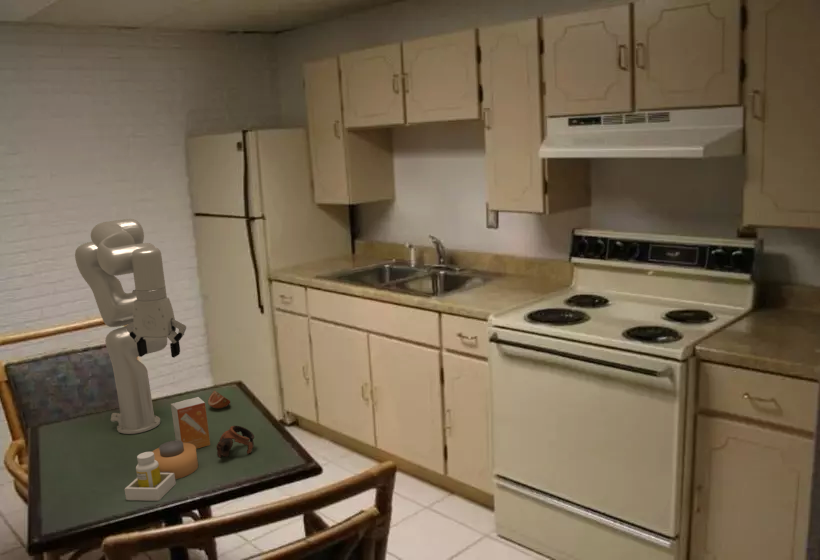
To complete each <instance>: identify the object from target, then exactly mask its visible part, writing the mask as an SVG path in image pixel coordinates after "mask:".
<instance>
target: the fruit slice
mask: <svg viewBox="0 0 820 560" xmlns="http://www.w3.org/2000/svg"><path fill="white" fill-rule="evenodd" d="M207 404H208V406H210V407H211V408H214V409H224V408H225V407H227V406H228V405H230V404H231V400H230V399H229V398H226V397H225V396H224V395H222V394H220V393H219V392H218V391H216V390H213V391H212V393H211V394H210V396H209V397H208V400H207ZM223 407H224V408H223Z"/></svg>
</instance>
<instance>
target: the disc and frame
mask: <svg viewBox="0 0 820 560" xmlns="http://www.w3.org/2000/svg"><path fill="white" fill-rule="evenodd" d="M151 452H153V453H154V456H155V459H154V460H156V461H157V462H158V464H159V469H160V475H161V481H162V482H161V483H160V484H159V485H158V486H157V487H156V488H147V487H139V485H138V479H137V477H136V478H135V479H134V480H133V481H132V482H130V483H129V484H128V485H127V486H126V487H125V488H124V493H125V500H126V501H147V502H148V501H150V502H152V501H153V502H155V501H156V502H158V501H160V500H161V499H162V498H163V497H164V496H165V495H167V493H168V492H170V490H171V489H172V488H173V487H174V486H176V484H177V483H176V480H177V479H182V478H184V477H188V476H189V475H191V474H193V473H195V471H197V470H198V468H199V461H198V454H197V449H196V447H195V445H193V444H190V443H183V442H182V441H178V440H176V439H175V440H170V441H166V442H163V443H162V444H160V445H159V447H158V448H155V449H154V450H152V451H151Z"/></svg>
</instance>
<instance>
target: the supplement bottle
mask: <svg viewBox="0 0 820 560" xmlns="http://www.w3.org/2000/svg"><path fill="white" fill-rule="evenodd" d="M154 459H155V456H154V453H153V452H152V451H145V452H141V453H139V454H138V455H136V461H137V465H136V466H135V472H136V478H137V479H138V485H139V487H147V488H156V487H157V486H158V485H159V484H160V483H161V482H162V481H161V475H160V469H159V464H158V462H157V461H156V460H154Z"/></svg>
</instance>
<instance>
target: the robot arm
mask: <svg viewBox="0 0 820 560" xmlns="http://www.w3.org/2000/svg"><path fill="white" fill-rule="evenodd" d="M90 238H91V241H89V242H85V243H83V244H80V245H79V246H78V247H77V248H76V249H75V252H74V259H75V263H76V267H77V269H78V271H79V273H80V275H81V277H82V278H83V280H84V281H85V283H87V285H88V286H89V288H90V290H91V292H92V293H93V296H94V299H95V300H94V301H95V303H96V305H97V308H98V311H99V314H100V317H101V319H102V321H103V323H104V324H105V325H106V327H109V328H115V329H113V330H111V331H110V332H109V333H108V334H107V335H106V337H105V347H106V351H107V353H108V355H109V359H110V361H111V362H110V363H111V366H112V370H113V375H114V382H115V383H114V384H115V388H116V395H117V401H118V407H119V412H112V413H111V416H110V421H111V422H117V423H118V425H117V426H116V429H117V432H118V433H121V434H125V435H134V434H140V433H145V432H148V431H150V430H153V429H155V428H157V427H158V426H159V425H160V424H161V417H160V416H157V415H155V413H154V407H153V406H154V405H153V400H152V399H153V398H152V393H151V387H150V386H151V385H150V379H149V372H148V369H147V367H146V366H145V364H143V362H141V361H139V359H138V357H139V358H140V357H141V358H142V357H143V356H145V355H148V354H153V353H156V352H160V351H162V350H164V349H165V348H166V347H167V345H168V340H169V341H170V342H171V343H170V344H169V347H170V355H171V356H170V357H171V358H174V359H175V358H176V357H178V356H179V355H180V354H181V348H180V347H181V345H180V341H181V339H182V338H183V337H184V336H185V332H186V329H187V325H185V324H183V323H182V322H179V321H178V320H176V318H175V314H174V309H173V306H172V303H171V300H170V297H167V289H166V280H165V273H164V266H163V256H162V253H161V250H160V249H159V248H157V247H156V246H155V245H154V244H152V243H151V242H150V243H149V242H144V239H145V232H144V230H143V227H142V225H141V223H140V222H139V221H137V220H136V219H133V218H125V219H124V218H123V219H116V220H109V221H103V222H100V223H98V224H96V225H94V226H93V228H92V229H91V232H90ZM129 274H133V279H134V280H133V281H134V289H133V290H132V292H128V293H127V292H125V290H124V289H123V285H122V282H121V280H120V279H118V277H116V276H125V275H129ZM177 329H178V333H177V332H176V330H177Z"/></svg>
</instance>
